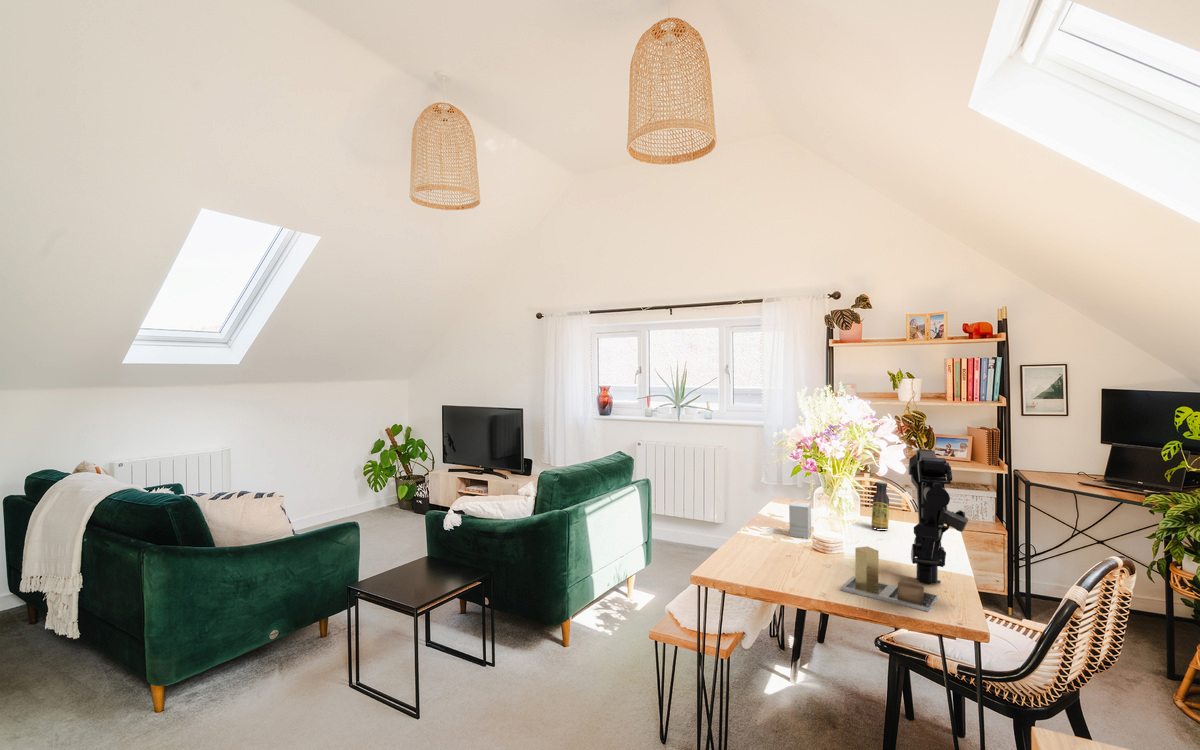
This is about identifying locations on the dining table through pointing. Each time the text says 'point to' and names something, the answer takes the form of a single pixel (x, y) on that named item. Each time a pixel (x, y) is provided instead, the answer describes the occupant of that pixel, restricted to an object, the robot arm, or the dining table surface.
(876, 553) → the block
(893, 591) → the tray
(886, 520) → the sauce bottle
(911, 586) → the walnut puck
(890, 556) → the dining table surface
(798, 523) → the supplement box
